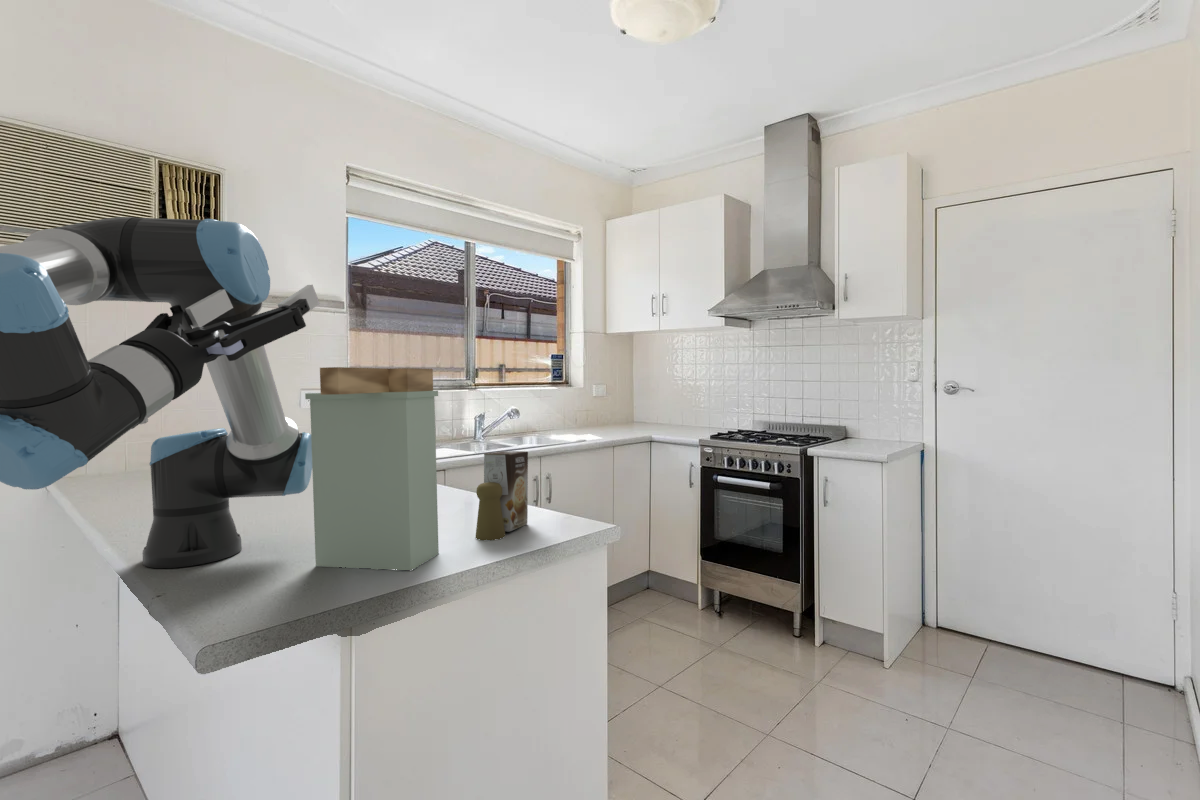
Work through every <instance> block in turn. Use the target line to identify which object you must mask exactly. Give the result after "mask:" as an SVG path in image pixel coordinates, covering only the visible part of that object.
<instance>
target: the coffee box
mask: <svg viewBox="0 0 1200 800" xmlns="http://www.w3.org/2000/svg"><path fill="white" fill-rule="evenodd" d="M483 463H484V464H483V483H486V482H495V483H499V484H500V485H501V487H502V496H501V497H500V503H501V509H502V516H503V522H504V529H505V533H506V532H508V533H509V532H512V531H514V530H517V529H519V528H522V527H524V526H526V525H528V517H529V516H528V509H529V508H528V506H529V505H528V503H529V502H528V498H529V497H528V494H529V493H528V491H529V489H528V488H529V486H528V484H529V483H528V482H529V481H528V479H529V477H528V476H529V475H528V474H529V468H528V467H529V466H528V465H529V452H528V451H523V450H522V451H521V450H518V451H516V450H515V451H512V450H511V451H506V450H503V451H495V452H494V451H493V452H487V453H486V452H484V453H483Z"/></svg>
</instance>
